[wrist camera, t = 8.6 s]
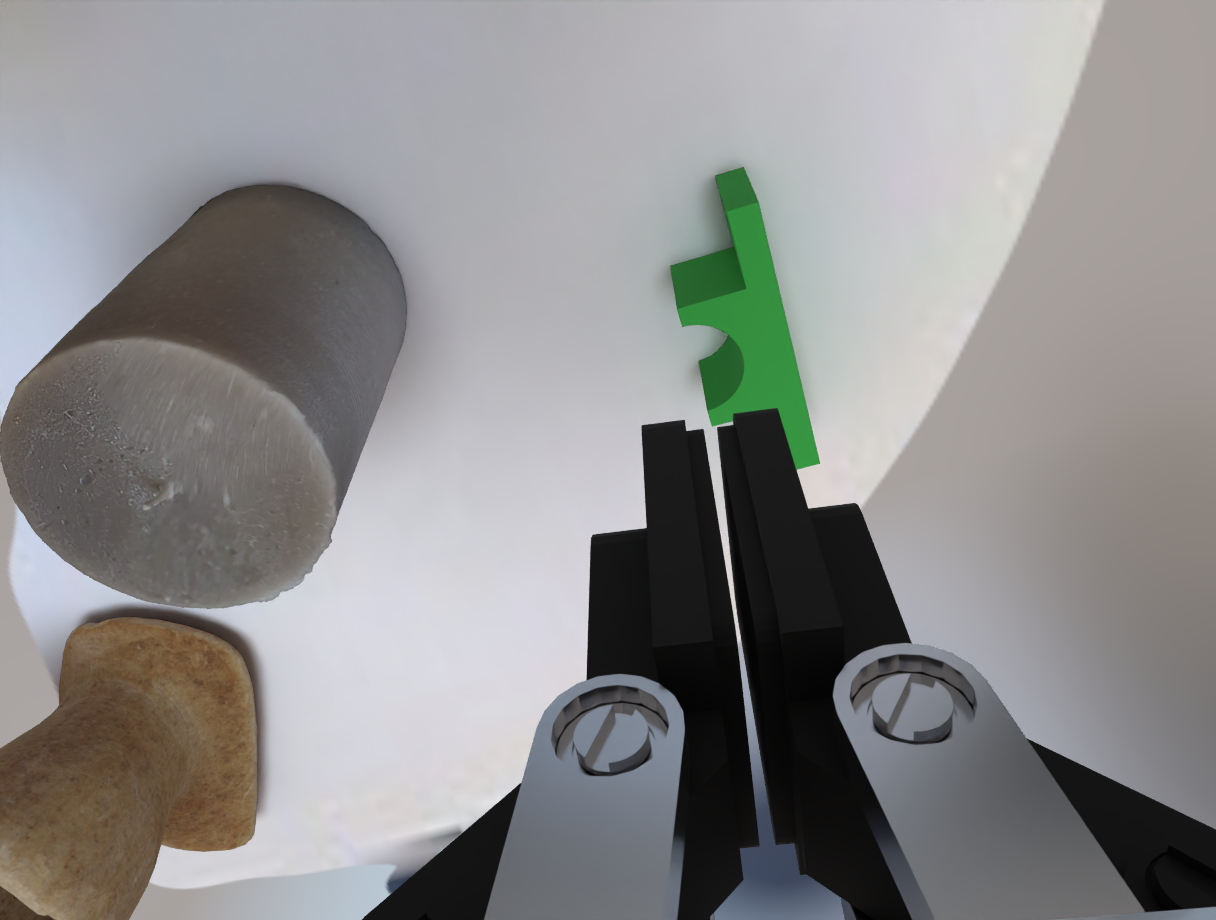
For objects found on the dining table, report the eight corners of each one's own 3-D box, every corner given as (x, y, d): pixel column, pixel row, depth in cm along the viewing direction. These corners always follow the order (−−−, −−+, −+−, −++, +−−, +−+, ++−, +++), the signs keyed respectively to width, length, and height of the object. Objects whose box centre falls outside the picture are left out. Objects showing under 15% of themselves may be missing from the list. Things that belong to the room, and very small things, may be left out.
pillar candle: (122, 290, 40) (-100, 503, 27) (273, 127, 36) (99, 286, 24) (310, 441, 44) (193, 689, 31) (462, 308, 40) (400, 526, 28)
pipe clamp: (649, 194, 38) (653, 232, 34) (743, 164, 37) (758, 200, 33) (719, 432, 43) (730, 488, 40) (802, 410, 43) (821, 465, 39)
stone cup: (24, 582, 48) (-187, 848, 35) (270, 618, 49) (154, 888, 36) (54, 784, 56) (-109, 1061, 43) (265, 811, 57) (168, 1088, 44)
